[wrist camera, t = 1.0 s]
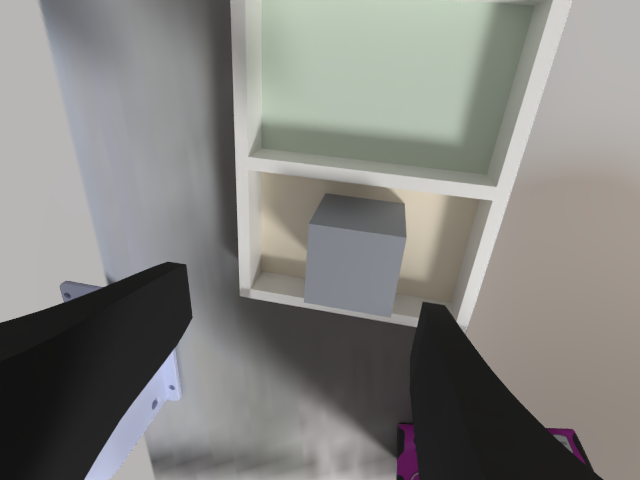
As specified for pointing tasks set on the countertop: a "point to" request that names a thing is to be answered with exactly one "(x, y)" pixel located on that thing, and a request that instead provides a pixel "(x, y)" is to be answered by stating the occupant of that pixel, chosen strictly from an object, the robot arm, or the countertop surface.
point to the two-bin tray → (384, 131)
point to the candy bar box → (408, 457)
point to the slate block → (355, 254)
